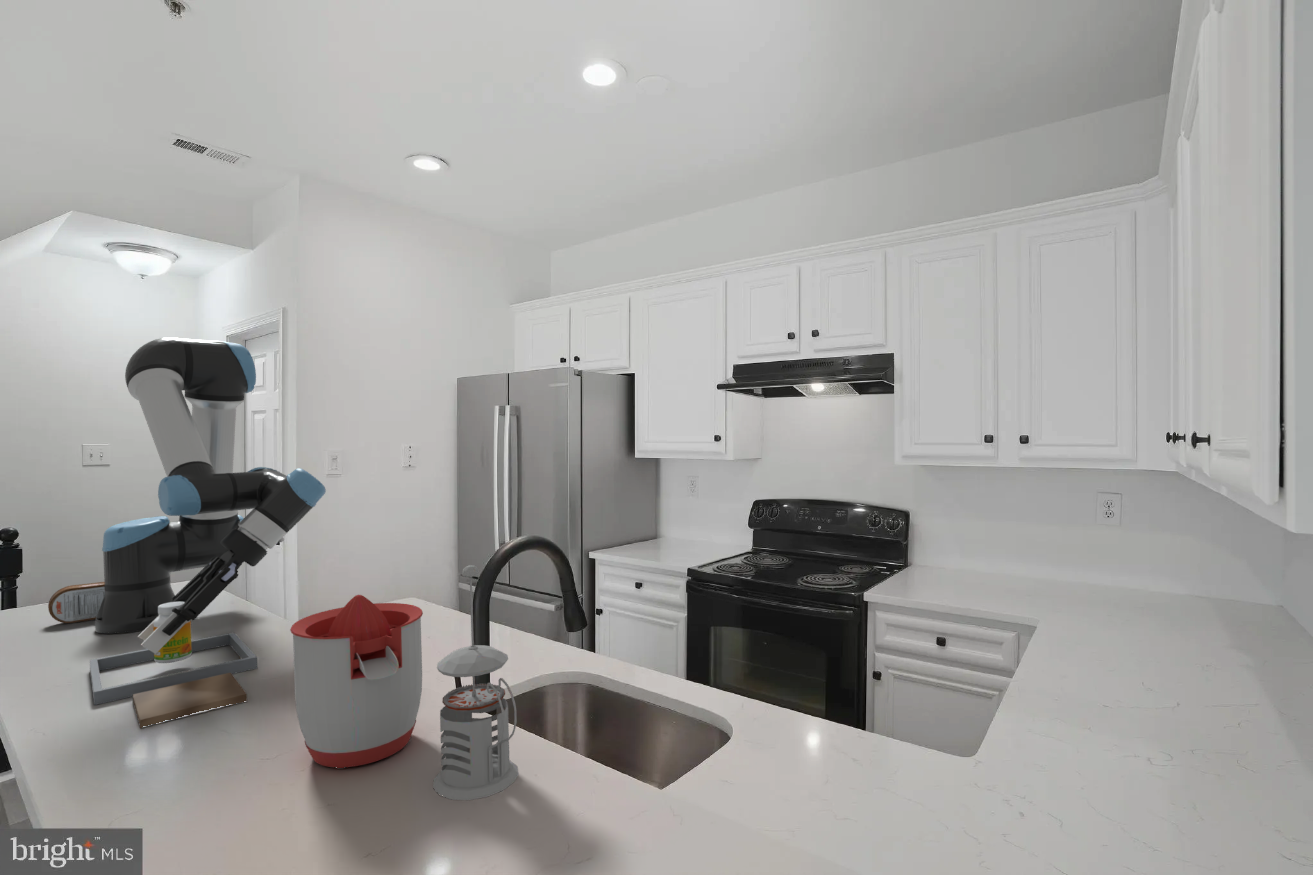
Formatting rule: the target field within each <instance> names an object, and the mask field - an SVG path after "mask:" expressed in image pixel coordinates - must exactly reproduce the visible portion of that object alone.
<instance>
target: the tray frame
mask: <svg viewBox="0 0 1313 875" xmlns="http://www.w3.org/2000/svg"><path fill="white" fill-rule="evenodd" d="M223 645H225V646H230V648H232V649H233V651H234V652H235V653H236V654H237V656H238V657H239V658H240V659H239V658H238V659H235V660H230V661H226V662H225V661H224V662H220V663H216V664H211V665H206V666H202V667H197V668H194V669H193V668H192V669H188V670H183V671H178V672H173V673H169V674H165V675H160V676H156V677H155V676H154V677H150V678H146V679H141V680H136V681H133V682H132V681H131V682H127V683H123V684H117V685H112V686H108V687H104V688H103V687H102V680H101V674H100V671H105V670H109V669H115V668H121V667H124V665H125V666H130V665H134V663H135V664H140V663H144V662H149V661H155V660H154V653H153V652H152V651H150V650H148V649H147V648H145V649H141V650H134V651H129V652H125V653H119V654H114V655H109V656H108V655H107V656H103V657H97V658H93V659H89V674H90V681H91V691H92V696H93V697H92V698H93V705H94V706H97V705H100V704H101V705H102V704H105V703H111V702H113V701H119V700H123V699H128V698H133V694H137V693H142V692H146V691H151V690H155V689H159V688H164V687H168V686H173V685H177V684H182V683H186V682H191V681H195V680H200V679H204V678H209V677H213V676H217V675H222V674H226V673H231V674H232V675H234V674H239V673H242V672H246V670H248V671H251V669H252V670H256V669H258V657H257V655H256V654H255V653H254V651H252V650H251V649H250V648H249V647H248V645H246V643H244V642H243V640H242V639H241V638H240V636H238V635H237V634H236V633H235V632H229V633H224V634H219V635H214V636H209V637H208V636H207V637H204V638H203V637H202V638H198V639H191V647H192V653H194V652H199V651H204V649H205V650H209V649H214V648H213V647H215V648H219V647H218V646H220V647H224V646H223ZM114 667H115V668H114ZM238 672H239V673H238Z"/></svg>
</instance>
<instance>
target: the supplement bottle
mask: <svg viewBox="0 0 1313 875" xmlns="http://www.w3.org/2000/svg"><path fill="white" fill-rule="evenodd" d="M184 603H185V602H170V603H165V604H161V605H159V606H158V614H159V615H160V617H158V618H157V619H156V620H155V621H154V625H153V629H154V631H155V630H156V629H157V628H158V627H159V626H160V625H161V624H162V623H163V622H164V621H165V620H166V619H167V618H168V617H169V616H170V615H171V614H172V613H173V612H172V609H173V608H176V609H179V608H180V607H181V606H182V605H183V604H184ZM191 640H192V620H190V621H188V622H187V623H186V624H185V625H184V626H183V627H182V628H181V629H180V630H179V631H178V632H177V633H176V634H175V635H174V636H173V637H172V638H171V639H170V640H169V641H168V642H167V643H166V644H165V645H164V646H163V647H162V648H161V649H160V650H159V651H158V652H157V653H156V654H155V653H154V660H153V661H154V662H155V663H157V664H170V663H176V662H180V661H184V660H186V659H188V658H190V657H191V656H192V653H193V652H192V647H191Z"/></svg>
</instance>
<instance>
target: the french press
mask: <svg viewBox="0 0 1313 875" xmlns="http://www.w3.org/2000/svg"><path fill="white" fill-rule="evenodd" d="M479 575H480V570H479V568H478V566H476V565H472V564H469V565H467V566H465V567H464V568H463V569H462V577H466V578H467V577H468V578H469V597H470V600H469V602H470V603H469V604H470V631H471V632H470V633H471V634H470V635H471V636H470V637H471V641H470V642H471V645H468V646H464V647H459V648H458V649H456V650H453V651H451V652H450V653H449V654H447V655H446V656H444V657H443V658H442V659H441V660H440V661H438V662H437V664H436V669H437V671H438V672H439V673H440V674H441V675H444V676H447V677H452V678H469V677H472V683H471V684H466V685H463V686H460V687H455V688H454V689H451V690H450V691H448V692H447V693H446V694H445V695H443V697H442V704H443V705H444V706H443V707H442V708H441V709H440V711H439V712H440V713H439V720H440V722H439V724H440V728H439V729H440V733H441V735H440V744H441V745H440V746H441V747H440V755H441V758H440V762H441V764H440V765H441V770H440V771H439V773H438V774H437V775H436V776H435V778H434V779H433V781H434V782H433V781H432V782H433V783H434V784H433V783H432V789H433V788H434V789H435V790H436V791H435V790H434V789H433V790H434V791H435V793H436V792H438V794H440V795H441V796H440V797H442V795H443V798H445V797H446V798H445V799H449V800H455V801H471V800H478V799H482V798H487V797H490V796H493V795H495V794H497V793H501V792H503V791H504V790H506V789H508V787H510V786H511V785H513V783H515V781H516V780H517V778H518V776H519V768H518V765H516V764H515V763H514V762H513V761H511V760H510V740H511V738H512V737H513V736H514V735H515V732H516V728H517V722H518V721H517V716H518V715H517V706H516V705H517V704H516V701H515V698H514V694H513V691H512V690H511V688H510V686H509V684H508V682H507V681H505V679H504V678H503V677H500V678H499V679H498V685H497V684H494V683H491V682H487V683H486V682H485V683H479V684H478V683H477V684H476V676H478V677H479V676H482V675H487V674H490V673H493V672H496V671H497V670H501V669H502V667H504V665H505V664H506V663H507V662H508V660H509V655H508V654H507V653H505V652H503V651H501V650H499V649H497V648H495V647H493V646H489V645H481V644H479V645H478V644H477V645H476V644H475V642H474V614H473V610H474V608H473V607H474V606H473V605H474V604H473V580H472V578H473V577H475V576H479ZM501 682H502V683H503V684H504V686H505V687H506V689H507V691H508V692H509V694H510V697H511V701H512V705H513V709H514V713H513V714H514V716H513V717H514V719H513V720H514V721H513V729H512V732H511V734H510V732H509V730H510V729H509V728H510V726H509V702H508V701H507V699H505V698H504V697H505V695H506V690H505V689H504V688H503V687H501V686H502V683H501ZM499 708H500V709H501V711H500V712H499V713H496V714H494V715H492V716H487V717H482V718H477V717H473V714H484V713H490V712H492V711H495V710H497V709H499ZM504 708H505V709H504ZM496 720H497V721H496ZM494 721H496V724H494V725H492V724H493V723H492V722H494ZM495 731H497V734H495V735H493V732H495ZM496 741H497V742H496ZM495 742H496V743H495ZM493 743H495V744H493ZM438 794H437V795H438Z"/></svg>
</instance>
